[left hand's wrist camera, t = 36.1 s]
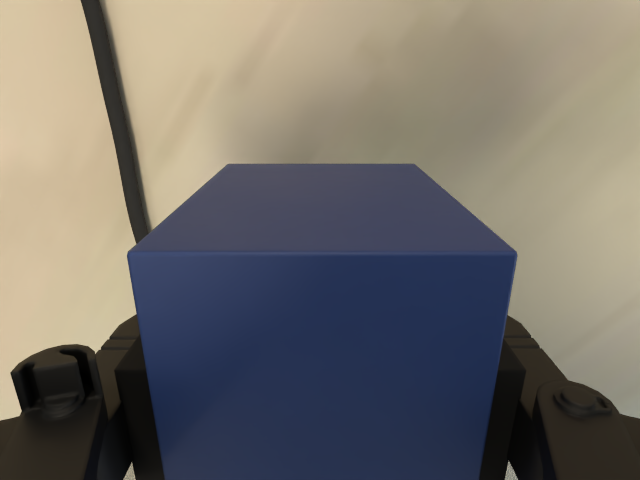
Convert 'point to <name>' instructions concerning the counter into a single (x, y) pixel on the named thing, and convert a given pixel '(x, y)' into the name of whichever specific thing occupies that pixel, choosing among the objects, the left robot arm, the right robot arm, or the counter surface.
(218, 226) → the block
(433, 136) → the counter surface
